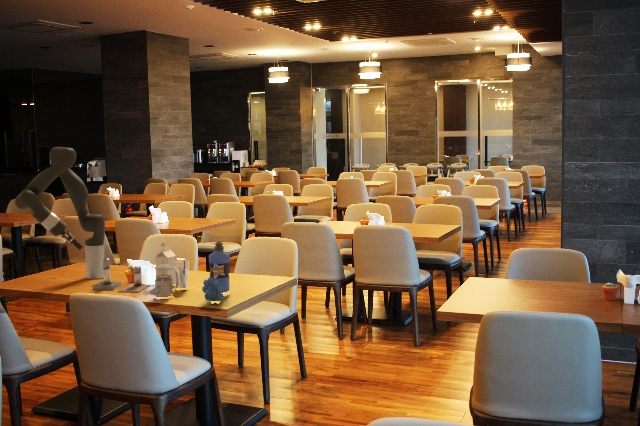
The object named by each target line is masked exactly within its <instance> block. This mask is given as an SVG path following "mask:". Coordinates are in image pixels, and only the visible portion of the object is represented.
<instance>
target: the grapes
mask: <svg viewBox="0 0 640 426" xmlns="http://www.w3.org/2000/svg"><path fill="white" fill-rule="evenodd" d="M201 291H202V293H204V299H205V300H206V301H220V300H221V302H222V301H223V300H224V299H225V297H224V296H223V294H221V293H223V288H222V287H221V286H219V281H218V280H214V279H213V278H211V277H210V276H209V277H208V278H207V279H204V280H203V286H202V288H201Z"/></svg>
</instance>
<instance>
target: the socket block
mask: <svg viewBox="0 0 640 426" xmlns="http://www.w3.org/2000/svg"><path fill="white" fill-rule="evenodd" d="M94 284H95V285H94ZM94 284H92V285H93V287H92V290H93V291H95V290H96V291H97V290H98V291H114V290H116V289H119V288H120V287H121V286H122V281H111V284H110V285H108V284H103V280H102V281H99V282H97V283H94Z"/></svg>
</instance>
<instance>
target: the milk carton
mask: <svg viewBox="0 0 640 426" xmlns="http://www.w3.org/2000/svg"><path fill="white" fill-rule="evenodd" d="M163 252H164V264H168V265H170V266H172V267H173V268H172V269H169V270H164V275H171V276H172V277H171V278H170V279H173V284H176V278H175V272H174V259H177V255H176V254H175V252H173V250H171V247H170V246H169V247H163V248H161V249H160V251H159V253H158V254H157V255H156V256H155V267H156V266H158V265H161V264H163ZM160 271H161V272H162V273H161V272H160V273H159V270H156V269H155V280H156V279H158V278H156V276H158V275H159V276H160V275H162V274H163V270H160ZM161 281H163V279H161ZM156 286H157V285H156Z"/></svg>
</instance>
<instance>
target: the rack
mask: <svg viewBox="0 0 640 426" xmlns="http://www.w3.org/2000/svg"><path fill="white" fill-rule="evenodd" d="M145 284H146V283H142V286H134V283H129V284H128V285H126V286H125V287H122V288H120V290H118V291H117V293H132V294H134V293H136V294H137V293H138V294H140V293H141V292H143V291H145V290H146V289H148V288H149V287H151V286H150V285H145Z"/></svg>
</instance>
